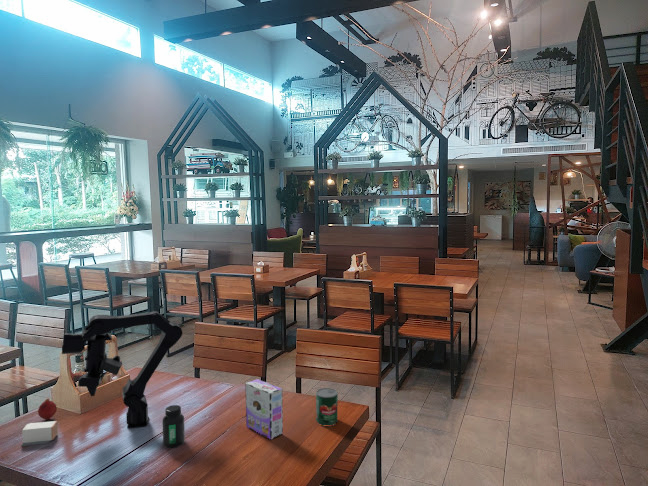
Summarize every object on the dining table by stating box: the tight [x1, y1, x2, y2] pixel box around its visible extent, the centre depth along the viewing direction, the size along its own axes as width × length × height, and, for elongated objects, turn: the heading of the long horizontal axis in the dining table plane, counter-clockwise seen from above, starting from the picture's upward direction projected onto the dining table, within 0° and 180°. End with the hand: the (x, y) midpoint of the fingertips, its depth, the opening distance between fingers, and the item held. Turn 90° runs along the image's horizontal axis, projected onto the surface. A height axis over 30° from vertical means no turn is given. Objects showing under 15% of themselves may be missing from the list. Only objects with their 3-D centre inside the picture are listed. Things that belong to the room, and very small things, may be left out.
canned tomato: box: [315, 387, 339, 426], centre depth 166 cm, size 8×8×11 cm
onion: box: [37, 397, 58, 421], centre depth 167 cm, size 6×6×8 cm
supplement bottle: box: [162, 404, 186, 449], centre depth 151 cm, size 7×7×12 cm
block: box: [21, 420, 59, 444], centre depth 153 cm, size 4×4×9 cm
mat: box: [21, 440, 52, 447], centre depth 153 cm, size 8×7×1 cm
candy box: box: [245, 378, 284, 440], centre depth 159 cm, size 14×6×16 cm, turn 47°
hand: (92, 395), depth 158 cm, fingers closed
